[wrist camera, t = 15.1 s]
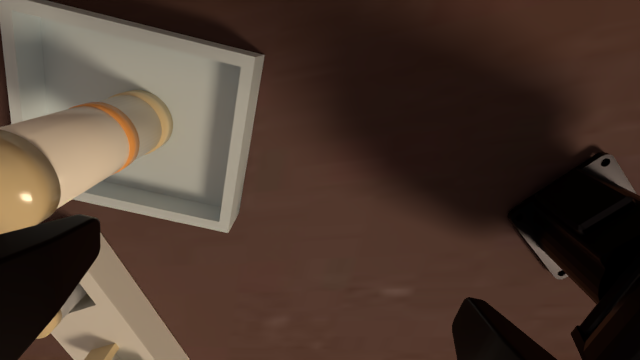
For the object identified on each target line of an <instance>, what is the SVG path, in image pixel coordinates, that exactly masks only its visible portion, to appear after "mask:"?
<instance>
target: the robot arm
mask: <svg viewBox="0 0 640 360" xmlns="http://www.w3.org/2000/svg"><path fill="white" fill-rule="evenodd" d="M603 159H605V161H604V163H602V164H601V161H602V160H603ZM518 214H520V216H519V217H518V218H515V216H516V215H518ZM508 218H509V220H510V221H511V222H512V224H513V225H514V226H515V228H516V229H517V230H518V231H519V233H520V234H521V235H522V237H523V238H524V239H525V240H526V242H527V243H528V244H529V246H530V247H531V248H532V249H533V251H534V252H535V253H536V255H537V256H538V257H539V258H540V260H541V261H542V262H543V264H544V265H545V266H546V267H547V269H548V270H549V271H550V273H551V274H552V275H553V276H554V277H555V278H556V279H564V278H566V277H568V276H569V277H570V278H571V279H572V280H573V281H574V282H575V283H576V284H577V285H578V286H579V287H580V288H581V289H582V290H583V291H584V292H585V293H586V294H587V295H588V296H589V297H590V298H591V299H592V300H593V301H594V302H595V303H596V304H597V305H596V306H595V307H594V309H593V310H592V311H591V312H590V314H589V315H588V316H587V317H586V319H585V320H584V321H583V322H582V324H581V325H580V326H576V327H575V329H574V330H573V331H572V332H571V336H572V338H573V340H574V342H575V344H576V347H577V349H578V351H579V353H580V356H581V358H582V360H640V196H639V195H637V194H636V192H635V191H634V189H633V187H632V186H631V184H630V182H629V181H628V179H627V178H626V176H625V174H624V173H623V171H622V169H621V168H620V166H619V164H618V163H617V161H616V160H615V158H614V157H613V156H612V155H610V154H608V153H605V152H601V153H598V154H596V155H595V156H593V157H592V158H590V159H589V160H587V161H585V162H584V163H582V164H581V165H579V166H578V167H576V168H575V169H573V170H571V171H570V172H568V173H567V174H565V175H564V176H562V177H560V178H559V179H557V180H556V181H554V182H553V183H551V184H550V185H548V186H547V187H545V188H544V189H542V190H540V191H539V192H537V193H536V194H535V195H533V196H532V197H530V198H528V199H527V200H525V201H524V202H522V203H521V204H519V205H518V206H516V207H515V208H513V209H512V210H511V211H509V213H508ZM100 247H101V244H100V221H99V220H98V219H97V218H95V217H91V216H86V215H81V214H79V215H74V216H70V217H66V218H62V219H58V220H54V221H50V222H46V223H42V224H38V225H35V226H31V227H27V228H23V229H19V230H15V231H11V232H7V233H3V234H0V360H18V359H19V357H20V356H21V355H22V354H23V353H24V352H25V351H26V349H27V348H28V347H29V346H30V345H31V344H32V342H33V341H34V340H35V339H36V338H37V337H38V336H39V334H40V333H41V332H42V331H43V330H44V329H45V327H46V326H47V325H48V324H49V323H50V322H51V320H52V319H53V318H54V317H55V316H56V314H57V313H58V312H59V310H60V309H61V308H62V306H63V305H64V304H65V302H66V301H67V300H68V298H69V297H70V295H71V294H72V292H73V291H74V290H75V288H76V287H77V285H78V284H79V283H80V281H81V280H82V278H83V277H84V275H85V274H86V273H87V271H88V270H89V268H90V267H91V266H92V264H93V263H94V261H95V260H96V258H97V257H98V255H99V252H100ZM560 270H561V271H560ZM559 271H560V272H559ZM452 333H453V338H454V344H455V349H456V355H457V360H557V359H556V358H554V357H553V356H552V355H551V354H549V353H548V352H547V351H546V350H545V349H543V348H542V347H541V346H540V345H538V344H537V343H536V342H535V341H533V340H532V339H531V338H530V337H528V336H527V335H526V334H525V333H524V332H522V331H521V330H520V329H519V328H517V327H516V326H515V325H514V324H512V323H511V322H510V321H509V320H508V319H506V318H505V317H504V316H503V315H501V314H500V313H499V312H498V311H496V310H495V309H494V308H493V307H491V306H490V305H489V304H488V303H487V302H485V301H483V300H480V299H475V298H471V297H468V298H466V299H465V300H464V301H463V303H462V305H461V307H460V309H459V311H458V313H457V315H456V317H455V319H454V321H453V324H452Z"/></svg>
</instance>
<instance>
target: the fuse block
mask: <svg viewBox="0 0 640 360" xmlns="http://www.w3.org/2000/svg"><path fill="white" fill-rule="evenodd" d="M100 244H101V247H100V252H99V255H98V257H97V258H96V260H95V261H94V263H93V264H92V266H91V267H90V268H89V270H88V271H87V273H86V274H85V275H84V277H83V278H82V280H81V281H80V285H81V286H82V287H83V288H84V290H85V291H86V292H87V294H86V295H85V296H84V297H83V298H82V299H81V300H80V301H79V302H78V303H77V304H76V305H75V306H74V307H73V309H72V310H71V311H70V312H69V313H68V314H67V315H66V316H65V317H64V318H63V319H62V320H61V322H60V323H59V324H58V325H57V326H56V327H55V329H54V330H53V331H52V332H51V334H52V335H53V336H54V337H55V338H56V340H57V341H58V342H59V343H60V344H61V345H62V347H63V348H64V349H65V350H66V351H67V352H68V353H69V355H70V356H71V357H72V358H73V359H74V360H190V359H189V358H188V356H187V355H186V354H185V352H184V351H183V349H182V348H181V347H180V345H179V344H178V342H177V341H176V339H175V338H174V337H173V335H172V334H171V332H170V331H169V329H168V328H167V327H166V325H165V324H164V322H163V321H162V319H161V318H160V317H159V315H158V314H157V312H156V311H155V309H154V308H153V307H152V305H151V304H150V302H149V301H148V300H147V298H146V297H145V295H144V294H143V292H142V291H141V290H140V288H139V287H138V285H137V284H136V282H135V281H134V280H133V278H132V277H131V275H130V274H129V272H128V271H127V270H126V268H125V267H124V265H123V264H122V263H121V261H120V260H119V258H118V257H117V255H116V254H115V253H114V251H113V250H112V248H111V247H110V245H109V244H108V243H107V241H106V240H105V238H104V237H103V235H102V234H101V233H100Z"/></svg>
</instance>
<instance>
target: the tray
mask: <svg viewBox="0 0 640 360" xmlns="http://www.w3.org/2000/svg"><path fill="white" fill-rule="evenodd" d="M0 27H1V36H2V45H3V54H4V63H5V72H6V81H7V89H8V98H9V107H10V116H11V124H14V123H18V122H22V121H26V120H29V119H33V118H37V117H41V116H44V115H48V114H52V113H56V112H59V111H63V110H67V109H69V108H71V107H74V106H77V105H81V104H85V103H89V102H97V101H100V100H104V99H108V98H110V97H111V96H113V95H115V94H119V93H122V92H126V91H130V90H144V91H147V92H150V93H152V94H154V95H156V96H157V97H158V98H160V99H161V100H162V101H163V102H164V103H165V104H166V106H167V107H168V109H169V111H170V113H171V116H172V119H173V131H172V134H171V137H170V139H169V140H168V141H167V142H166V143H165V144H164V145H162V146H161V147H159V148H158V149H156V150H155V151H153V152H151V153H149V154H146V155H143V156H141V157H140V158H138V159H136V160H135V161H133V162H132V163H131V164H130V165H129V166H127V167H126V168H124V169H122V170H121V171H119V172H117V173H115V174H113V175H111V176H109V177H107V178H106V179H104V180H103V181H101V182H99V183H98V184H96V185H94V186H93V187H91V188H90V189H88V190H86V191H85V192H83V193H82V194H80V195H78V196H77V197H75V198H73V199H74V200H79V201H83V202H88V203H92V204H97V205H102V206H106V207H111V208H115V209H120V210H125V211H129V212H134V213H138V214H143V215H148V216H152V217H157V218H161V219H166V220H171V221H175V222H180V223H184V224H189V225H194V226H198V227H203V228H207V229H212V230H217V231H221V232H226V233H228V232H229V230H230V229H231V227H232V225H233V223H234V221H235V219H236V217H237V215H238V213H239V208H240V202H241V196H242V190H243V184H244V178H245V172H246V166H247V160H248V153H249V147H250V141H251V135H252V129H253V123H254V117H255V111H256V105H257V98H258V92H259V86H260V80H261V74H262V68H263V62H264V56H265V55H263V54H259V53H255V52H251V51H247V50H243V49H239V48H235V47H231V46H227V45H223V44H219V43H215V42H211V41H207V40H203V39H199V38H195V37H191V36H187V35H183V34H179V33H175V32H171V31H167V30H163V29H159V28H155V27H151V26H147V25H143V24H139V23H135V22H131V21H127V20H123V19H119V18H115V17H111V16H107V15H103V14H99V13H95V12H91V11H87V10H83V9H79V8H75V7H71V6H67V5H63V4H59V3H55V2H51V1H47V0H0Z"/></svg>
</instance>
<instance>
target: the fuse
mask: <svg viewBox="0 0 640 360" xmlns="http://www.w3.org/2000/svg"><path fill="white" fill-rule="evenodd" d="M86 294H87V292H86V291H85V290H84V288H83V287H82V286H81V285H80V283H79V284H78V285H77V287H76V288H75V290H74V291H73V292H72V294H71V295H70V297H69V298H68V300H67V301H66V302H65V304H64V305H63V306H62V308H61V309H60V310H59V312H58V313H57V314H56V316H55V317H54V318H53V319H52V320H51V322H50V323H49V324H48V325H47V326H46V327H45V329H44V330H43V331H42V332H41V333H40V334H39V336H38V337H37V338H36V339H40V338H44V337H46V336H48V335H49V334H50V333H51V332H52V331H53V330H54V329H55V327H56V326H57V325H58V324H59V323H60V322H61V320H62V319H63V318H64V317H65V316H66V315H67V314H68V313H69V312H70V311H71V310H72V309H73V307H74V306H75V305H76V304H77V303H78V302H79V301H80V300H81V299H82V298H83V297H84V296H85V295H86Z"/></svg>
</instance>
